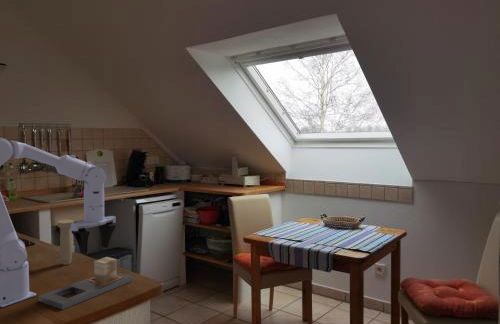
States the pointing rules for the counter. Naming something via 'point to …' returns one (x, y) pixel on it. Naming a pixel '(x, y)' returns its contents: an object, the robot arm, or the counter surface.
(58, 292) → the grey board with holes
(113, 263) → the peg
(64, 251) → the handle
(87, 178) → the robot arm
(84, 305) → the counter surface
